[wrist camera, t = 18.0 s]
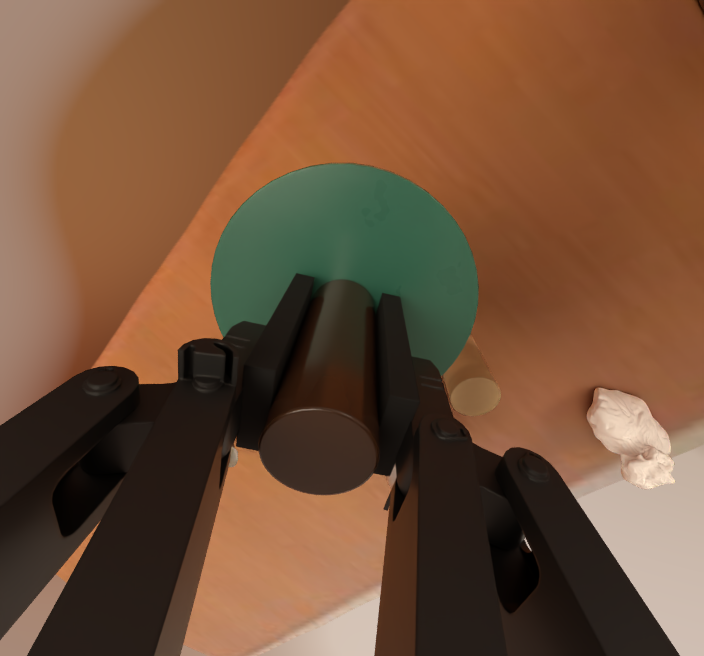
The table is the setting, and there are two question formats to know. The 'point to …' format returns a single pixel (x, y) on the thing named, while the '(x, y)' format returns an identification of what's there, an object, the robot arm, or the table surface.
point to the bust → (632, 437)
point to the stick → (471, 382)
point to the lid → (342, 305)
